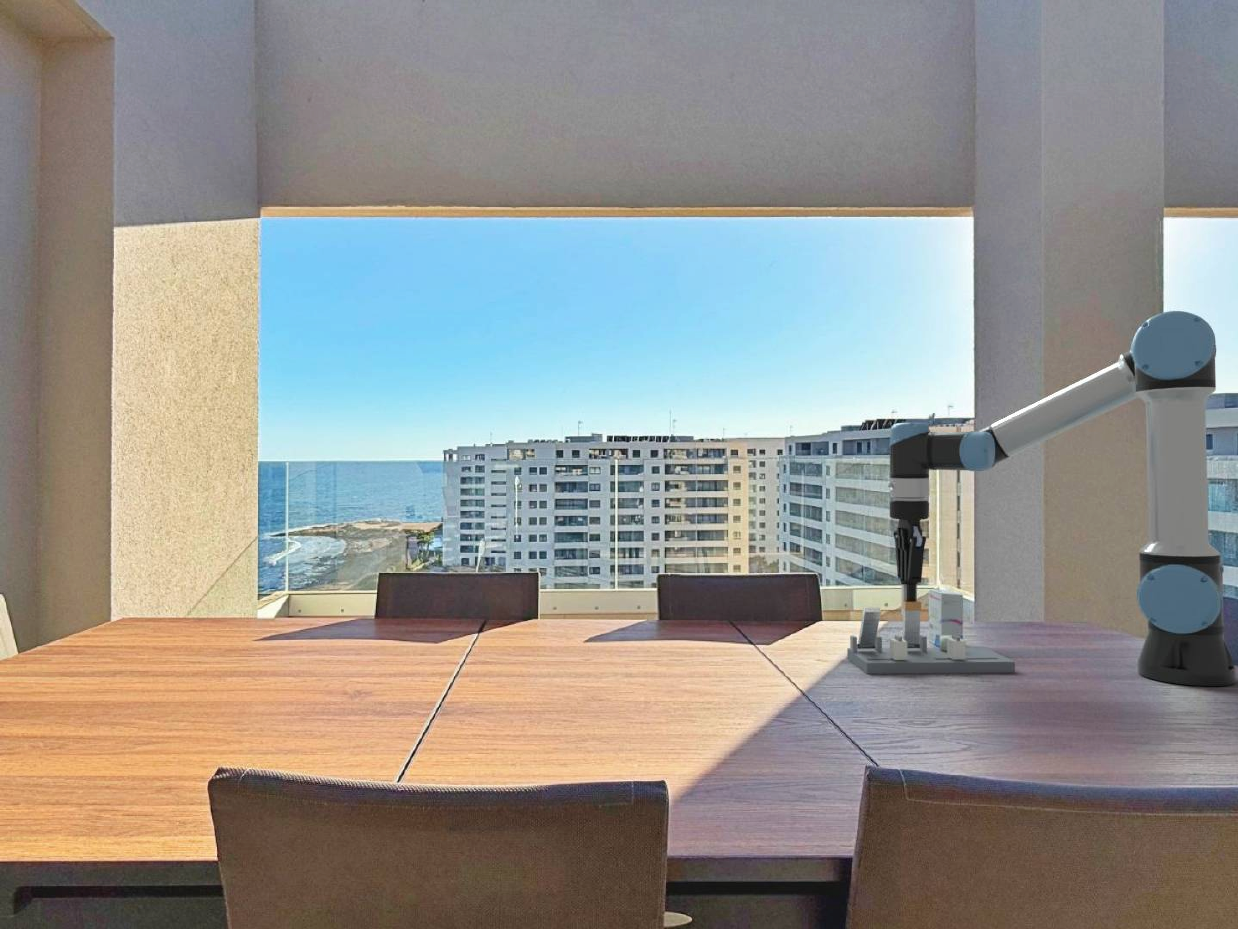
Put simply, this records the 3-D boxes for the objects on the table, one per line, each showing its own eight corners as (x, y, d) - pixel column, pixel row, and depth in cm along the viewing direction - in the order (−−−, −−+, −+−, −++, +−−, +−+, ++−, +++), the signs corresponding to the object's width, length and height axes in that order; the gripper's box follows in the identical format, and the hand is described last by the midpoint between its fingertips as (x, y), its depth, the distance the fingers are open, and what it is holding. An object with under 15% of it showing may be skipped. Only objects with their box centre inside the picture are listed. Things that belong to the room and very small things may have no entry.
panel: (984, 656, 179) (983, 632, 179) (1015, 672, 165) (1014, 645, 165) (847, 658, 179) (847, 633, 179) (866, 673, 165) (866, 647, 165)
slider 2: (959, 656, 169) (959, 635, 169) (965, 659, 166) (965, 637, 166) (947, 656, 169) (946, 635, 169) (953, 659, 166) (952, 638, 166)
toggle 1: (873, 645, 177) (879, 607, 172) (875, 650, 175) (881, 612, 171) (856, 645, 177) (862, 607, 172) (858, 650, 175) (864, 612, 171)
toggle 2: (917, 647, 177) (919, 599, 175) (920, 649, 175) (921, 601, 174) (901, 647, 177) (902, 600, 175) (903, 649, 175) (904, 602, 174)
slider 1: (902, 656, 169) (902, 635, 169) (907, 660, 166) (907, 638, 166) (889, 656, 169) (889, 635, 169) (894, 660, 166) (894, 638, 166)
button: (956, 647, 178) (956, 635, 178) (964, 651, 174) (964, 638, 174) (937, 647, 178) (936, 635, 178) (944, 651, 174) (944, 639, 174)
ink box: (964, 648, 187) (963, 593, 188) (941, 648, 188) (940, 593, 188) (950, 641, 196) (949, 588, 196) (927, 641, 196) (927, 588, 196)
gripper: (881, 497, 183) (881, 610, 183) (900, 501, 170) (900, 622, 170) (917, 497, 182) (917, 610, 183) (939, 501, 170) (939, 622, 170)
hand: (909, 615), depth 176 cm, fingers closed
